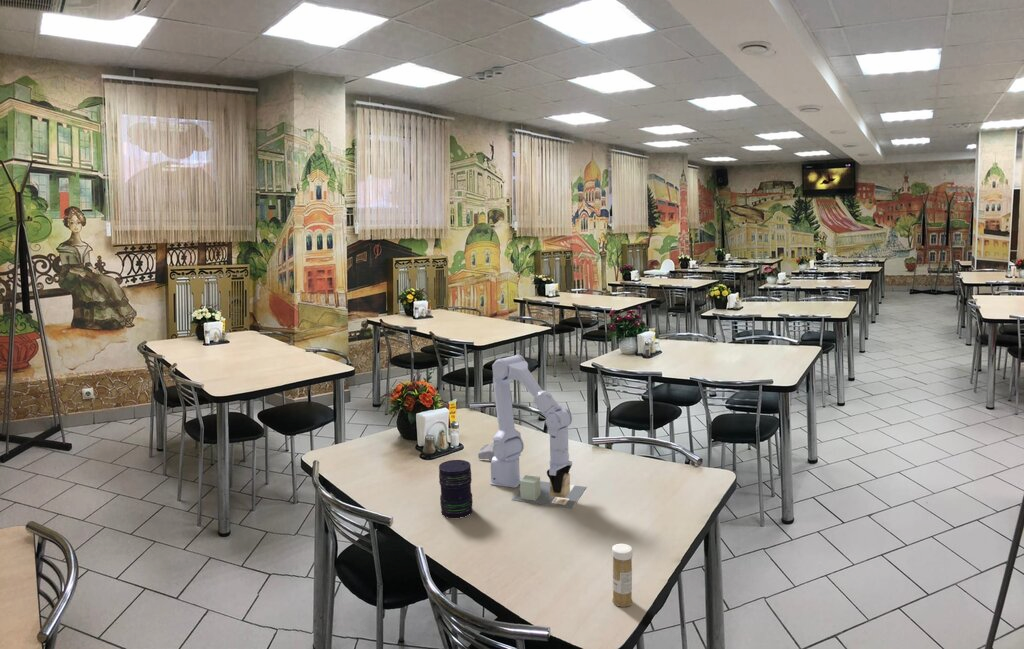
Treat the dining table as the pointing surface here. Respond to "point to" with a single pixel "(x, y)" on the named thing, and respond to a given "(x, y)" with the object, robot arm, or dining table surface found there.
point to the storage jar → (455, 488)
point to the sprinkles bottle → (622, 575)
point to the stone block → (486, 452)
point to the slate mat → (552, 500)
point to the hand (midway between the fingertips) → (559, 488)
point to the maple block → (565, 487)
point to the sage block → (530, 487)
